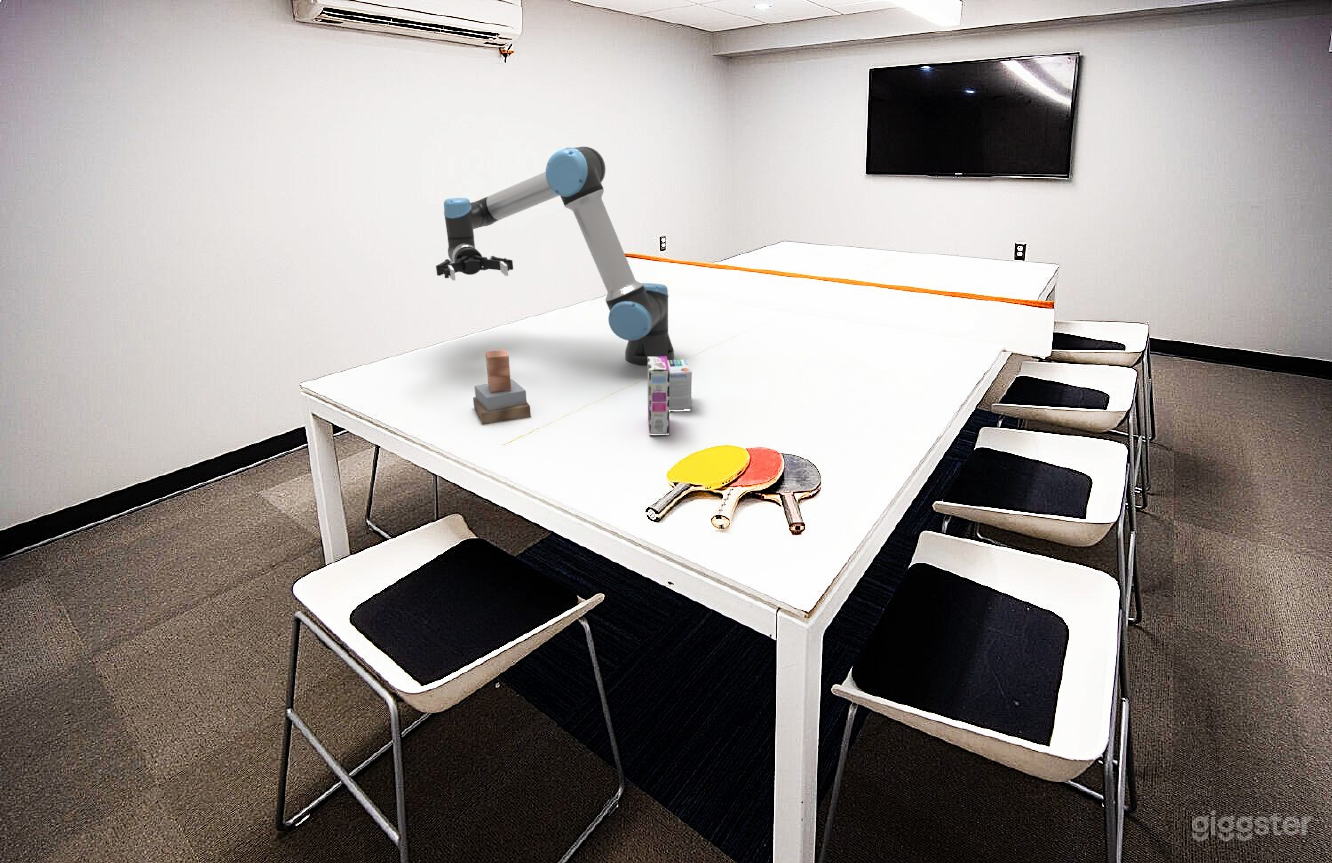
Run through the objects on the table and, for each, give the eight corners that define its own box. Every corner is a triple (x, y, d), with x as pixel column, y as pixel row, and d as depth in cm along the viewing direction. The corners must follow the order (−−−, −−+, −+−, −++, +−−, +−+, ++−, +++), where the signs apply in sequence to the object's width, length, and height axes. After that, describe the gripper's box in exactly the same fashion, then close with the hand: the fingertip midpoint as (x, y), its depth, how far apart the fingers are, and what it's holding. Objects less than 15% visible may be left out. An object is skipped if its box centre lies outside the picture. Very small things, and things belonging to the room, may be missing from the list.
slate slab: (513, 391, 192) (511, 379, 190) (526, 403, 184) (525, 390, 182) (475, 398, 187) (474, 385, 186) (488, 411, 179) (486, 397, 178)
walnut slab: (520, 403, 194) (519, 390, 192) (531, 418, 184) (529, 406, 182) (474, 410, 189) (472, 397, 188) (482, 426, 179) (481, 413, 178)
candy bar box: (670, 436, 172) (670, 369, 165) (649, 436, 171) (648, 370, 165) (667, 418, 182) (667, 355, 175) (647, 418, 182) (646, 355, 175)
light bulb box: (662, 398, 195) (662, 359, 191) (687, 397, 195) (687, 358, 191) (666, 412, 185) (665, 372, 181) (692, 411, 186) (692, 371, 181)
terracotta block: (508, 383, 187) (505, 349, 183) (511, 390, 182) (508, 355, 179) (488, 385, 185) (485, 351, 181) (490, 392, 181) (487, 357, 177)
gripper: (512, 269, 214) (528, 283, 196) (424, 276, 205) (432, 291, 187) (510, 242, 211) (526, 254, 193) (420, 249, 202) (428, 262, 184)
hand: (480, 272), depth 190 cm, fingers open, 13 cm apart
